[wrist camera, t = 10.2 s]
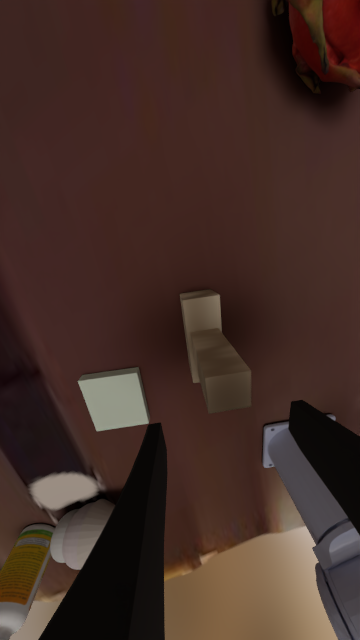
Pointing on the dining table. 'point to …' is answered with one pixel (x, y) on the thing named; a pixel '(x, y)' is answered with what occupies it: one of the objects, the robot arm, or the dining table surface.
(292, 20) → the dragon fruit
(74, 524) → the ice cream cone
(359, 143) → the dining table surface
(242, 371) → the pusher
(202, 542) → the dining table surface
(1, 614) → the supplement bottle
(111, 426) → the tile
